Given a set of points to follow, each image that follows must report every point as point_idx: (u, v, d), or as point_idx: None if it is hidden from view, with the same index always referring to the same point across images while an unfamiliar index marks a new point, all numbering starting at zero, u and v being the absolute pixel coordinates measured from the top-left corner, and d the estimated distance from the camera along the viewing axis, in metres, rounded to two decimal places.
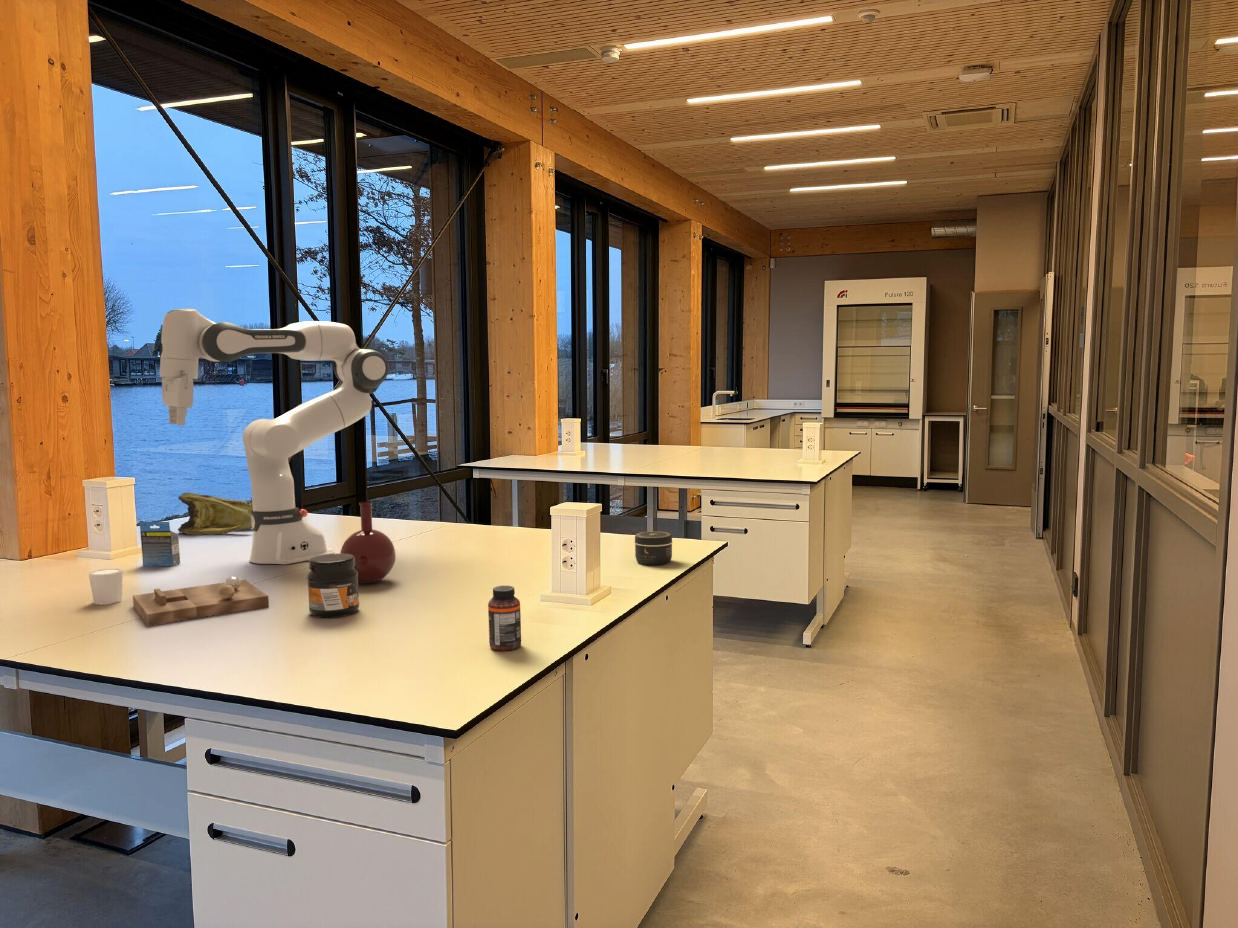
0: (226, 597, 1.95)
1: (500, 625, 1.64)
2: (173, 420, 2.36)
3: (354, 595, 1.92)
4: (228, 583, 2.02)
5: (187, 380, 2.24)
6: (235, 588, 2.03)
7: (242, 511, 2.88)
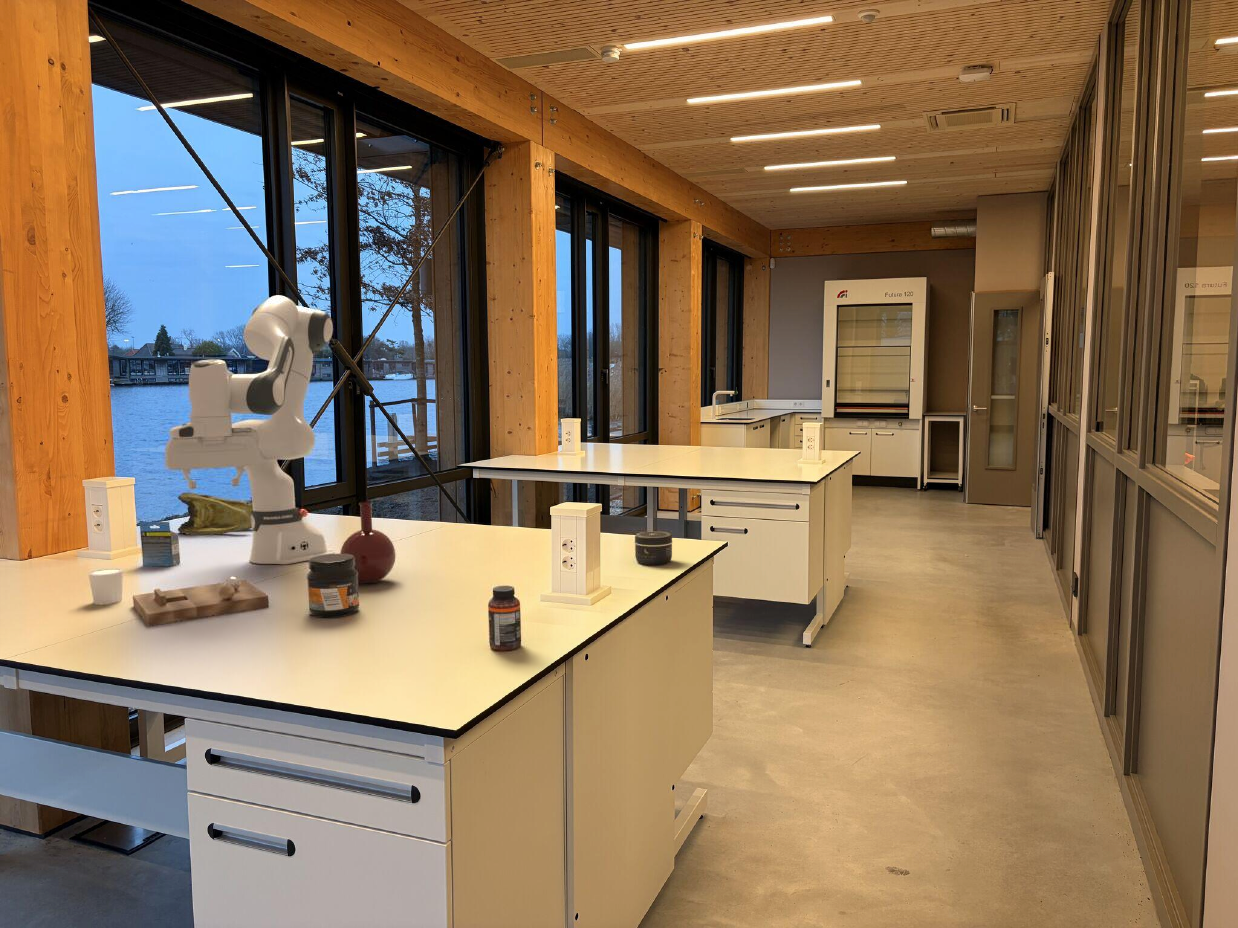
0: (226, 597, 1.95)
1: (500, 625, 1.64)
2: None
3: (354, 595, 1.92)
4: (228, 583, 2.02)
5: None
6: (235, 588, 2.03)
7: (240, 511, 2.88)
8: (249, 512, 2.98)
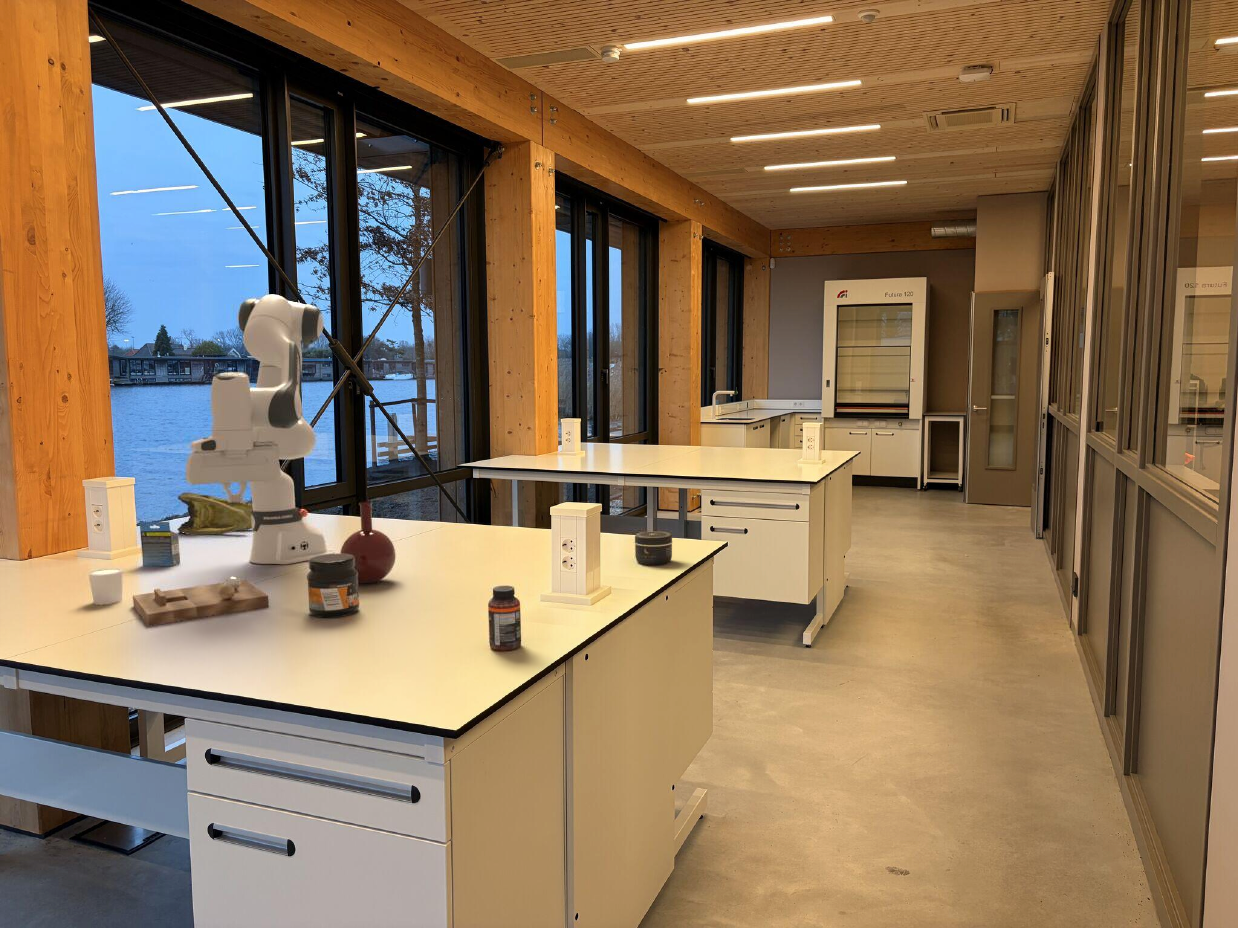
0: (226, 597, 1.95)
1: (500, 625, 1.64)
2: None
3: (354, 595, 1.92)
4: (228, 583, 2.02)
5: None
6: (235, 588, 2.03)
7: (238, 511, 2.88)
8: (248, 512, 2.98)
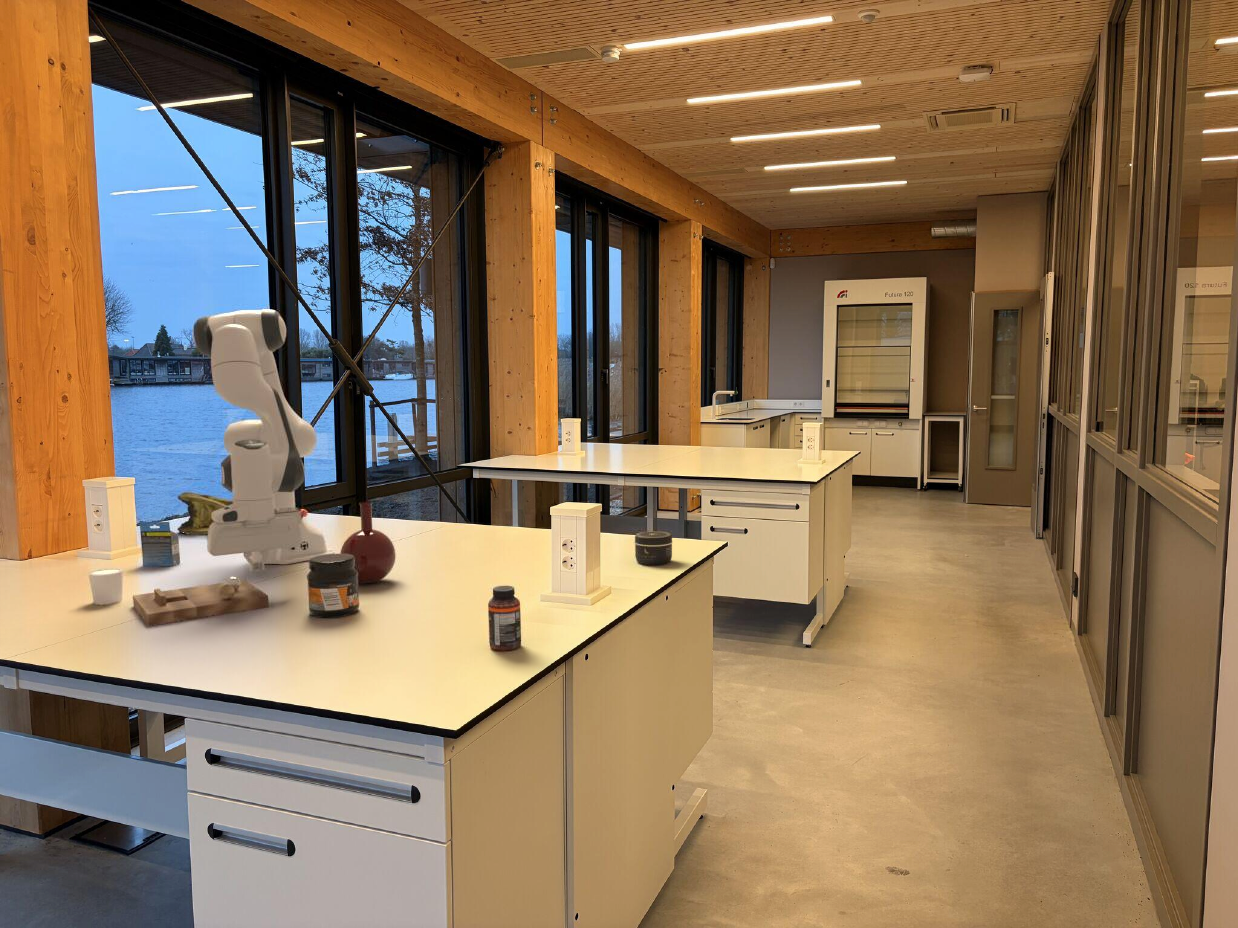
0: (226, 597, 1.95)
1: (500, 625, 1.64)
2: None
3: (354, 595, 1.92)
4: (228, 583, 2.02)
5: None
6: (235, 588, 2.03)
7: None
8: None
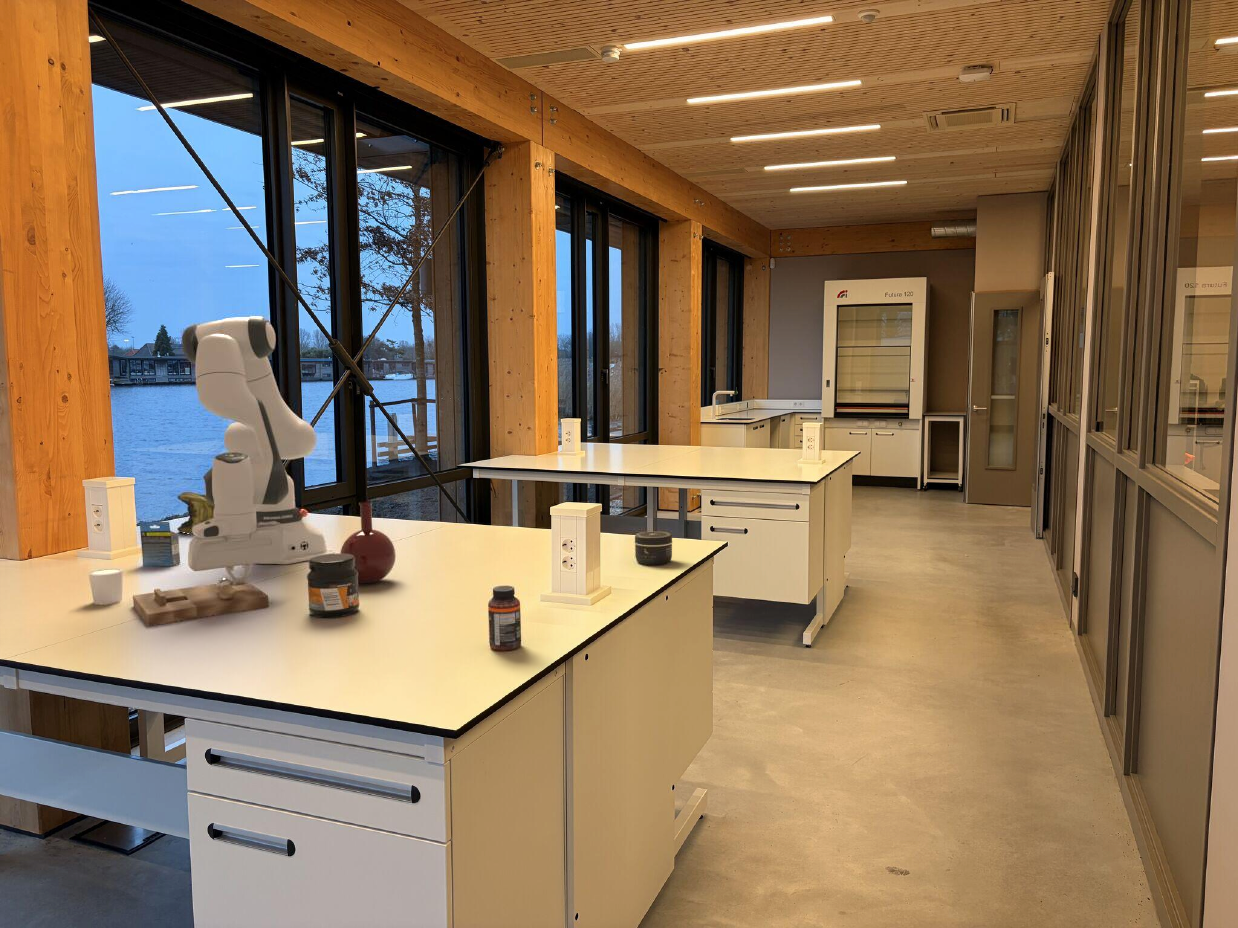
0: (226, 597, 1.95)
1: (500, 625, 1.64)
2: None
3: (354, 595, 1.92)
4: None
5: None
6: None
7: None
8: None
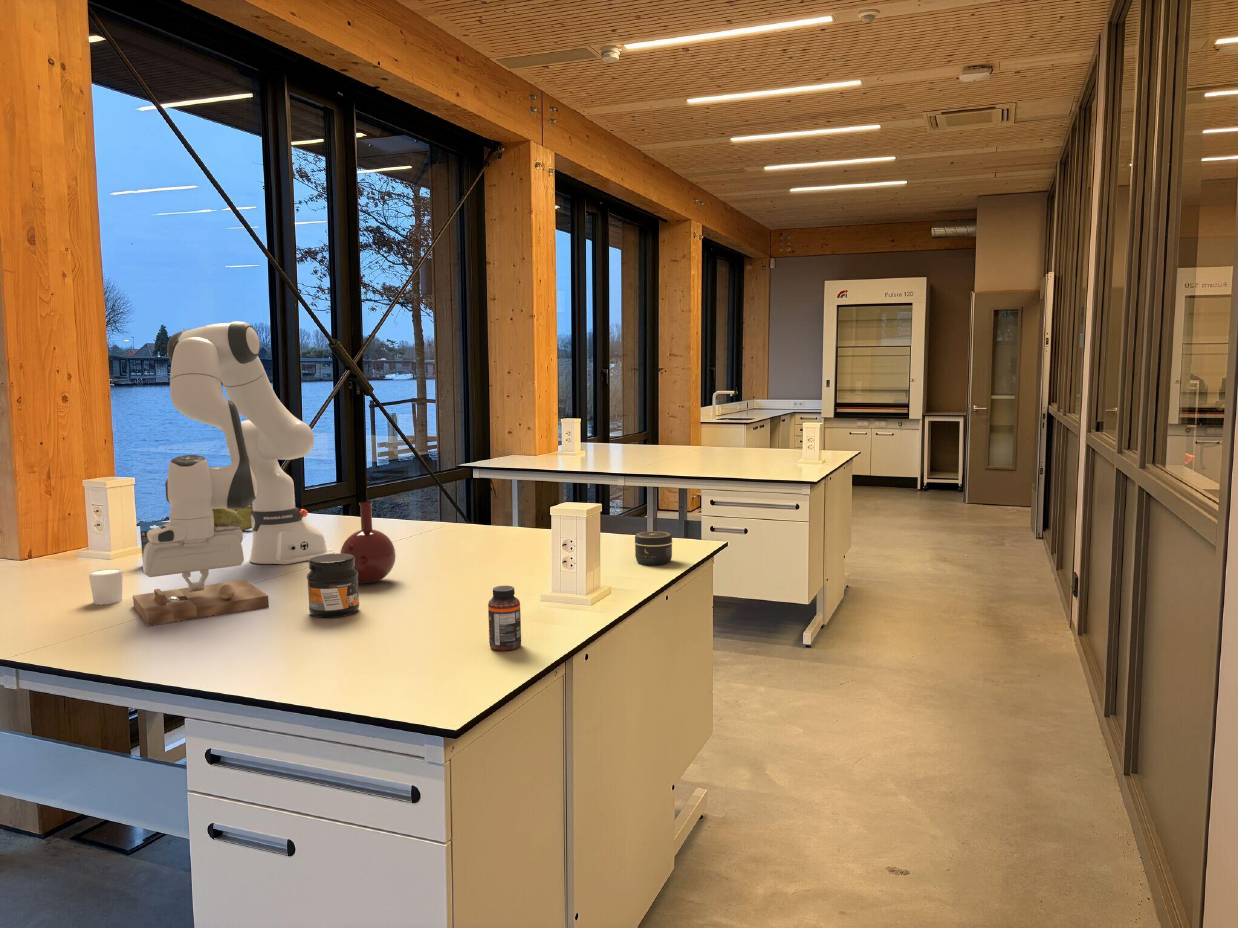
0: (226, 597, 1.95)
1: (500, 625, 1.64)
2: None
3: (354, 595, 1.92)
4: None
5: None
6: None
7: (232, 512, 2.86)
8: (246, 513, 2.96)
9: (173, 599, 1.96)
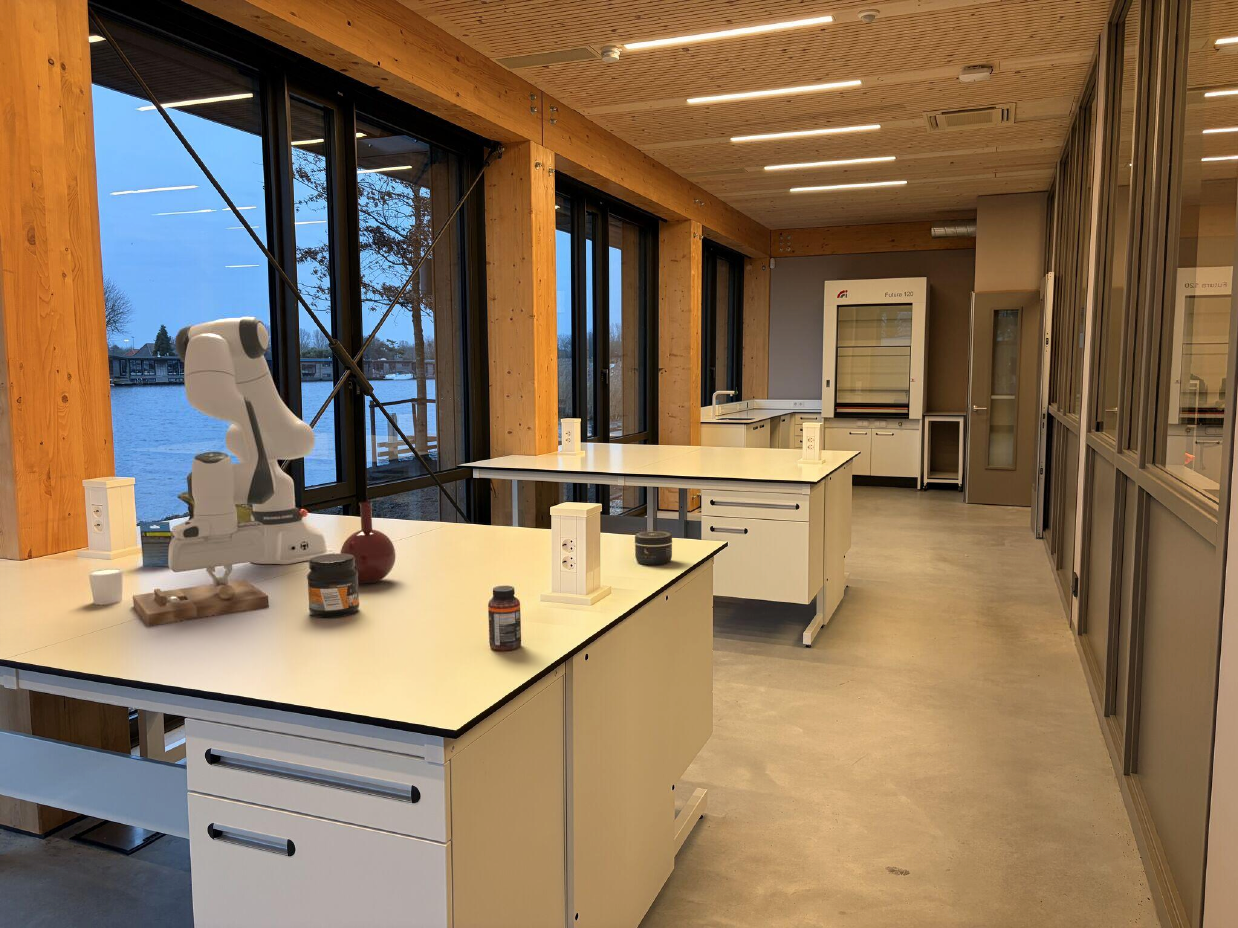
0: (226, 597, 1.95)
1: (500, 625, 1.64)
2: None
3: (354, 595, 1.92)
4: None
5: None
6: None
7: None
8: (244, 513, 2.96)
9: (173, 599, 1.96)
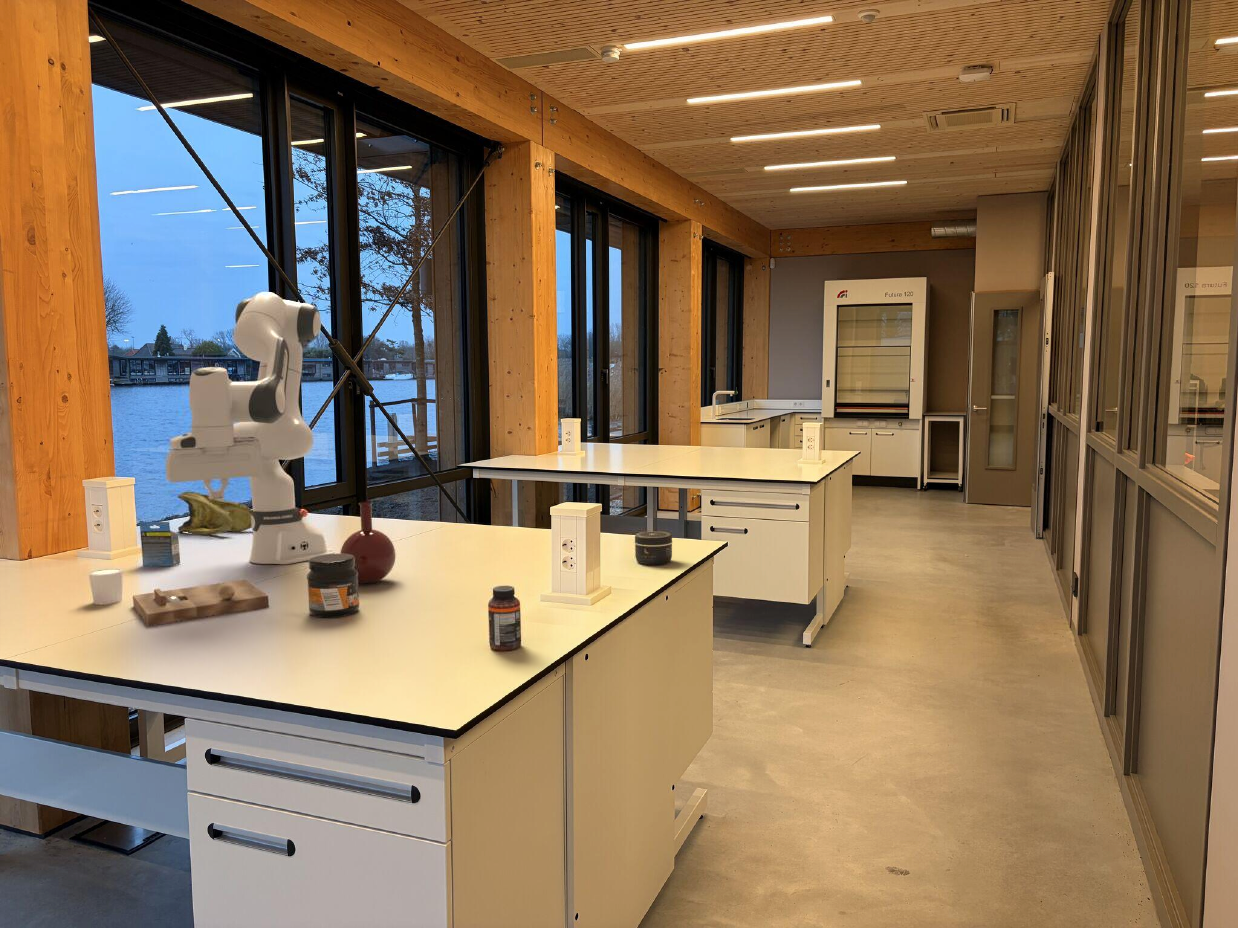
0: (226, 597, 1.95)
1: (500, 625, 1.64)
2: None
3: (354, 595, 1.92)
4: None
5: None
6: None
7: (223, 513, 2.85)
8: (242, 514, 2.95)
9: (173, 599, 1.96)
